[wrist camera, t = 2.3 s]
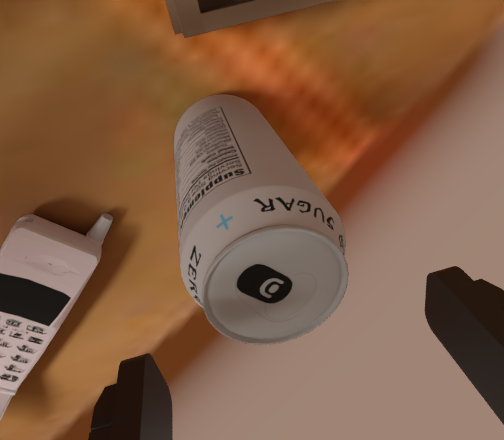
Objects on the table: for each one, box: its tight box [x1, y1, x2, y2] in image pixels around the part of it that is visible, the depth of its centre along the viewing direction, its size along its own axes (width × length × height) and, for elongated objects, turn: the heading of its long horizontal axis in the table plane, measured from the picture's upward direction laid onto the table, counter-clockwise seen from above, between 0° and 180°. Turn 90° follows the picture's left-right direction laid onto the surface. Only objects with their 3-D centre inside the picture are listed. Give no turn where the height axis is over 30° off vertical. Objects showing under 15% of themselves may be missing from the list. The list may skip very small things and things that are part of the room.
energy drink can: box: [174, 94, 349, 345], centre depth 19 cm, size 6×6×15 cm
